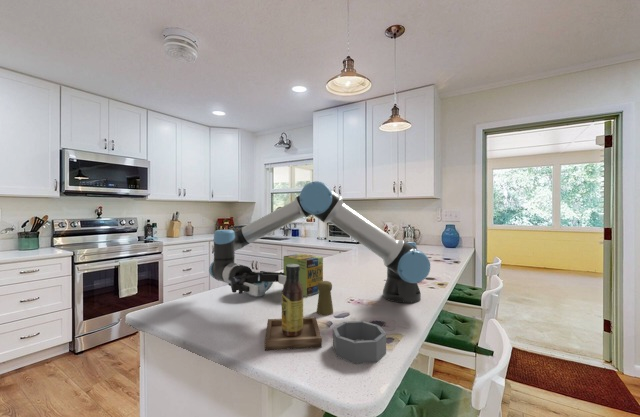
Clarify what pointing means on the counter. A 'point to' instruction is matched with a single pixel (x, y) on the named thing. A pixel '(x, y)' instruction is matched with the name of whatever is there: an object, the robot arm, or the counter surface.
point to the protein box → (307, 271)
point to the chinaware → (262, 287)
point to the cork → (324, 298)
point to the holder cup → (359, 342)
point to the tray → (281, 342)
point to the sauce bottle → (292, 302)
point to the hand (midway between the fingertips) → (275, 286)
